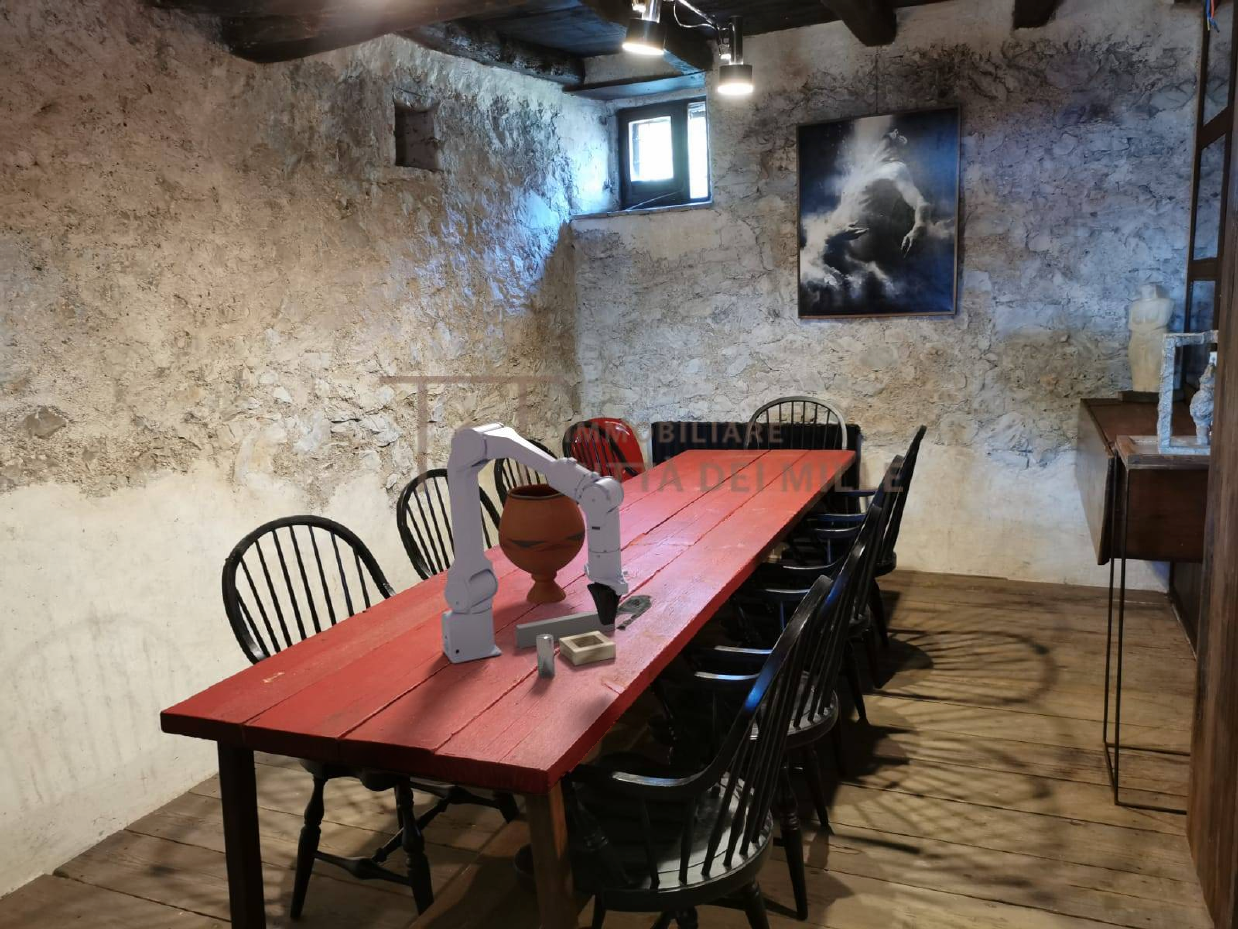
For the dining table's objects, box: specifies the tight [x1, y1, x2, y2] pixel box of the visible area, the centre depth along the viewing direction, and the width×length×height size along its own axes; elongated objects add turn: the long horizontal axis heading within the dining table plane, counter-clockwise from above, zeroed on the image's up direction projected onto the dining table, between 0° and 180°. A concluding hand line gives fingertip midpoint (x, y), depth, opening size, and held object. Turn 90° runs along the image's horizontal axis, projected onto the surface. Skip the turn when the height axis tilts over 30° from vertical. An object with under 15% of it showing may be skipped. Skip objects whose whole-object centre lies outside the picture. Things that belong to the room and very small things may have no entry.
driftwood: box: [615, 594, 653, 628], centre depth 194 cm, size 21×7×2 cm, turn 155°
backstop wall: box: [515, 609, 616, 649], centre depth 180 cm, size 20×2×4 cm, turn 115°
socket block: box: [558, 631, 617, 666], centre depth 171 cm, size 8×8×2 cm
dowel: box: [536, 634, 556, 679], centre depth 162 cm, size 3×3×7 cm
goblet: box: [497, 482, 586, 605], centre depth 203 cm, size 19×19×25 cm
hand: (607, 623), depth 160 cm, fingers closed
